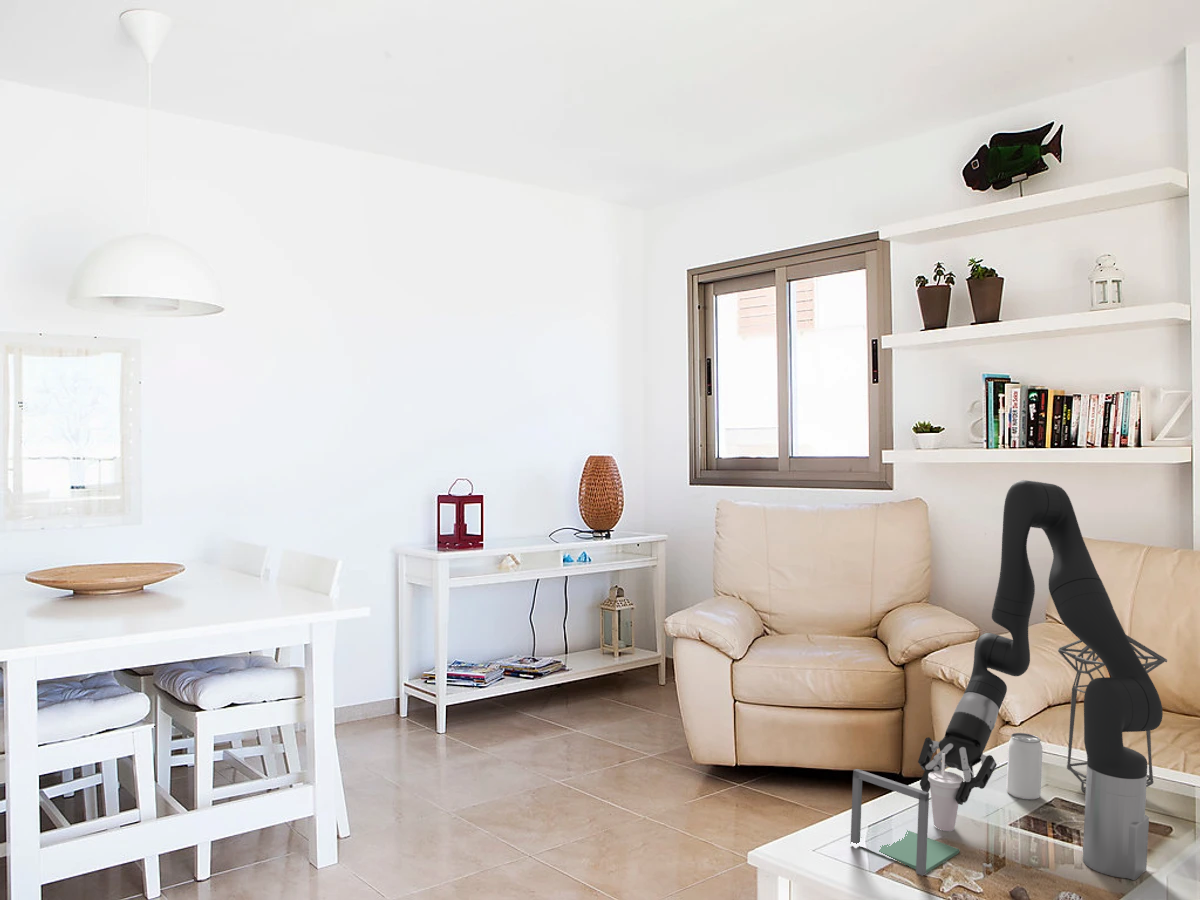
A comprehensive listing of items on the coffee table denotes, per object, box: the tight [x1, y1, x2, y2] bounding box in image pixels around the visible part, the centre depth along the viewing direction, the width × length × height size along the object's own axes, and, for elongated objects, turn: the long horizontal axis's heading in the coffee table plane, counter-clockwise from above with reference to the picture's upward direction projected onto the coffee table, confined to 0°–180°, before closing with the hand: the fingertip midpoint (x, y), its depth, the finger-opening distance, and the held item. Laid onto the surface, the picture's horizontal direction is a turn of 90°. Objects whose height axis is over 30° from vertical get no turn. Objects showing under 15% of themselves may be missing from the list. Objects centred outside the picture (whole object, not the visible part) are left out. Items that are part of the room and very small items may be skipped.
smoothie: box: [928, 753, 964, 832], centre depth 181 cm, size 6×6×14 cm
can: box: [1006, 732, 1043, 801], centre depth 198 cm, size 6×6×12 cm
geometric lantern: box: [1057, 634, 1168, 794], centre depth 199 cm, size 16×16×35 cm
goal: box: [850, 768, 960, 877], centre depth 171 cm, size 14×13×14 cm
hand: (941, 796), depth 180 cm, fingers closed on smoothie, 6 cm apart
